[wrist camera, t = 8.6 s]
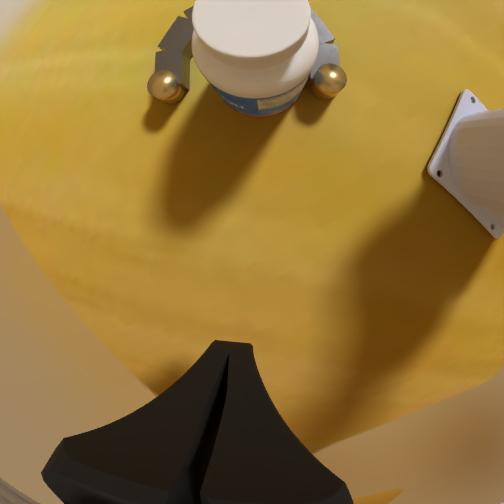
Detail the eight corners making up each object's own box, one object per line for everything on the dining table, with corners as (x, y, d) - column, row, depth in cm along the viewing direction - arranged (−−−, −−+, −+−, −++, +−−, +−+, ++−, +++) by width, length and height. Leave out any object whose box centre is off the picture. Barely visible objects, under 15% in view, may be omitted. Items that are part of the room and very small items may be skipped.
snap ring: (339, 100, 17) (347, 92, 14) (159, 105, 17) (147, 99, 15) (330, 5, 14) (336, -10, 12) (164, 12, 15) (154, -1, 13)
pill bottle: (202, 69, 16) (145, 0, 7) (273, 31, 15) (273, -60, 6) (245, 135, 18) (219, 105, 8) (319, 95, 17) (363, 36, 7)
